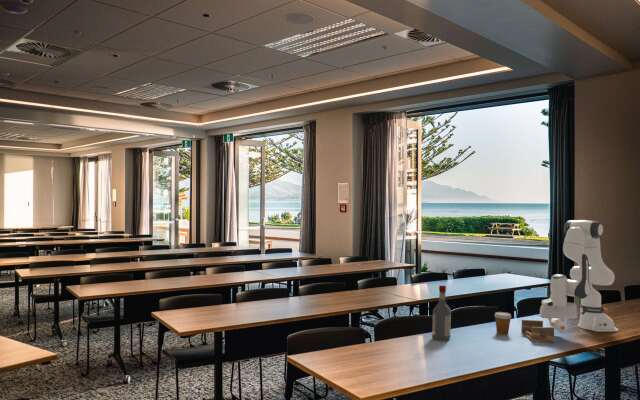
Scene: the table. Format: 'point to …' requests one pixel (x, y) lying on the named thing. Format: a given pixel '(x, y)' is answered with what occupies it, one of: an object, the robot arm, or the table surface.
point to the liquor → (441, 318)
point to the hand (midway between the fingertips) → (558, 325)
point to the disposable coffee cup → (502, 322)
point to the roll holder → (537, 331)
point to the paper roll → (559, 325)
